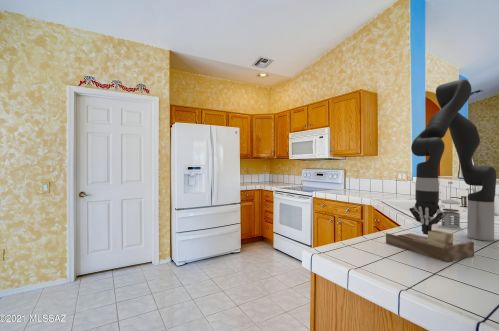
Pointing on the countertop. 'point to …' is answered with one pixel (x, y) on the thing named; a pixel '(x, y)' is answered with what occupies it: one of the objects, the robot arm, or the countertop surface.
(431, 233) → the block
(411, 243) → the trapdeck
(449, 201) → the french press
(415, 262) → the countertop surface
